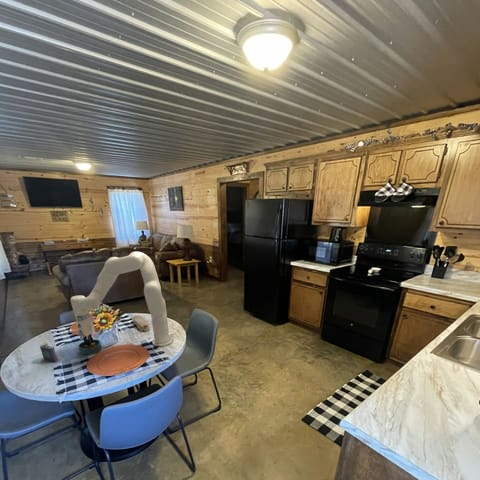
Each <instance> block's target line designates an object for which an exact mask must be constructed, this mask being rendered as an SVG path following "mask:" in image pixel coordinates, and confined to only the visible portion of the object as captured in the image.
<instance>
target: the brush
mask: <svg viewBox="0 0 480 480" xmlns="http://www.w3.org/2000/svg"><path fill="white" fill-rule="evenodd" d="M84 337H86V336H84ZM88 339H89V340H90V344H91V345H90V346H86V345H85V348H91V347H94V346H95V343H92V342H91V339H90V335H88Z"/></svg>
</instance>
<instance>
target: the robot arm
mask: <svg viewBox="0 0 480 480" xmlns="http://www.w3.org/2000/svg"><path fill="white" fill-rule="evenodd" d="M138 270H140V273H141V278H142V280H143V285H144V287H143V295H144V298H145V302H146V306H147V309H148V312H149V313H150V317H151V318H150V319H151V325H152V332H153V339H152V340H151V341H152V344H153V346H156V347H165V346H168V345H170V344H171V343H172V342H173V338H172V336H174V335H175V332H174V331H172V332H170V331H169V323H168V313H167V305H166V304H167V303H166V300H165V298H164V297H163V294H162V286H161V284H160V280H159V277H158V273H157V270H156V266H155V264H154V261H153V260H152V258H151V257H150V256H149V255H147V254H145V253H144V252H141V251H131V252H130V253H129V255H125V256H121V257H117V256H111V257H109V258H108V259H107V260H106V261H105V262H104V266H103V267H102V270H101V271H100V272H99V274H98V276H97V278H96V283H95V285H94V287H93V289H92V290H91V292H90V293H89V295H88V296H85V295H81V294H79V295H73V296H72V297H70V303H71V308H72V312H73V316H74V319H75V325H76V331H77V334H78V337H79V340H82V341H83V342H84V343H85V345H86V346H90V345H91V344H90V340H89V339H88V335H90V339H91V342H92V343H93V340H94V338H93V333H94V331H95V330H96V329H95V325H94V322H93V319H92V317H91V315H90V311H89V310H95V309H97V308H99V306H100V305H101V303H102V302H103V300H104V298H105V297H106V295H107V294H108V292H109V291H110V289H111V288H112V287H113V285H114V284H115V282H116V280H117V279H118V277H119V275H121V274H127V273H131V272H134V271H138ZM85 336H86V337H85Z"/></svg>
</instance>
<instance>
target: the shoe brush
mask: <svg viewBox="0 0 480 480" xmlns="http://www.w3.org/2000/svg"><path fill="white" fill-rule="evenodd" d="M131 318H132V322H133V324H134V325H135V326H136V327H137V328H138V330H139V331H141V332H147V331H149V330H150V323H149V322H148V321H147V320H146V319H145V318H144V317H143V316H141V315H134V316H132V317H131Z"/></svg>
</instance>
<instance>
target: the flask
mask: <svg viewBox="0 0 480 480" xmlns="http://www.w3.org/2000/svg"><path fill="white" fill-rule="evenodd" d="M39 348H40V351H41V354H42V358H43V361H45V362H52V363H54V362H58V357H57V353H56V349H55V346H50V345H48V343H43V344H41V345H40V346H39Z"/></svg>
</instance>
